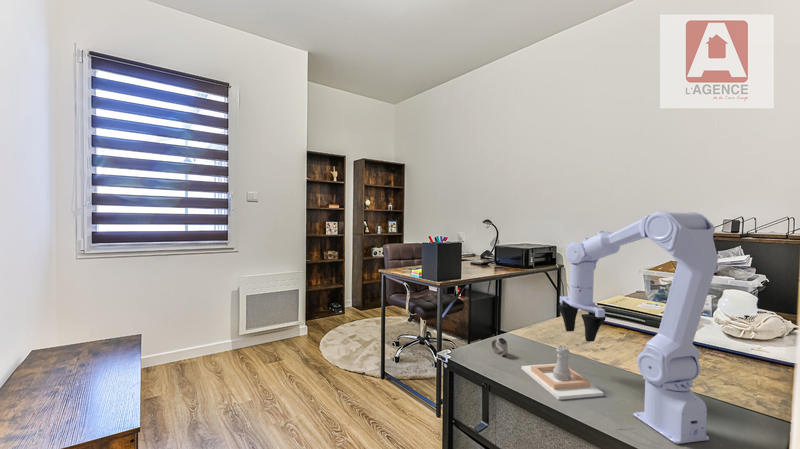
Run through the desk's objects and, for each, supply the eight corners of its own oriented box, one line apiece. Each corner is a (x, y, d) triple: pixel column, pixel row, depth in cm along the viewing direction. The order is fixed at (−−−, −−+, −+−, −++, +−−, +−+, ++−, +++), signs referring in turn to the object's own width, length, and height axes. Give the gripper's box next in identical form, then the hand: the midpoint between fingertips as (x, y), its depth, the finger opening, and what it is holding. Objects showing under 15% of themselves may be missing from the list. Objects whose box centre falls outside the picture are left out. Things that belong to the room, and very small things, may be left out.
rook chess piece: (574, 382, 84) (575, 351, 84) (555, 380, 85) (556, 349, 85) (568, 374, 89) (569, 344, 89) (550, 372, 89) (551, 343, 89)
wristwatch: (501, 358, 100) (501, 341, 100) (488, 350, 106) (489, 334, 106) (510, 356, 102) (511, 340, 102) (497, 348, 107) (498, 333, 107)
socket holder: (603, 395, 80) (603, 387, 80) (558, 399, 78) (558, 391, 77) (559, 366, 95) (559, 359, 95) (521, 368, 93) (521, 361, 93)
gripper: (615, 292, 84) (613, 345, 85) (575, 280, 98) (573, 326, 99) (591, 292, 83) (590, 346, 83) (554, 281, 97) (552, 327, 97)
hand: (579, 335), depth 91 cm, fingers open, 7 cm apart
